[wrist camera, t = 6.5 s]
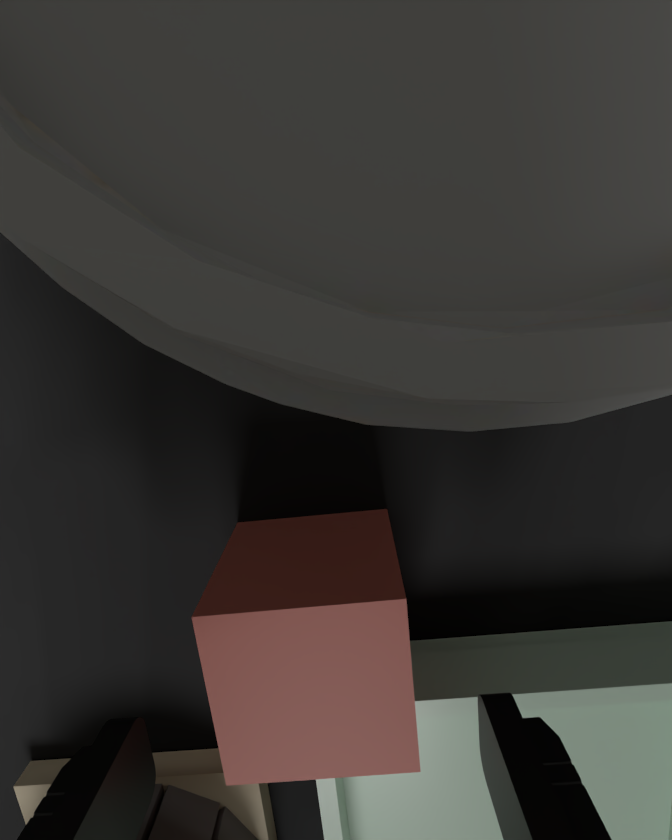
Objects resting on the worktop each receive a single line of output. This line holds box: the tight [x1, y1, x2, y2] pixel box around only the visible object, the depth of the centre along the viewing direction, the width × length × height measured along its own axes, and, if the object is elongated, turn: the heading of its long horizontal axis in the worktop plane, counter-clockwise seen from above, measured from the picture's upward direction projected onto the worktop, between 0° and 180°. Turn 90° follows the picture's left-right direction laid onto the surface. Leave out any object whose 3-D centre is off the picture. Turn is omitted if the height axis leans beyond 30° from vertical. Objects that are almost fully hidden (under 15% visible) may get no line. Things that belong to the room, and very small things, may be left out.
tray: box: [316, 621, 672, 840], centre depth 17 cm, size 13×13×3 cm
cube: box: [192, 509, 421, 786], centre depth 14 cm, size 5×5×5 cm
